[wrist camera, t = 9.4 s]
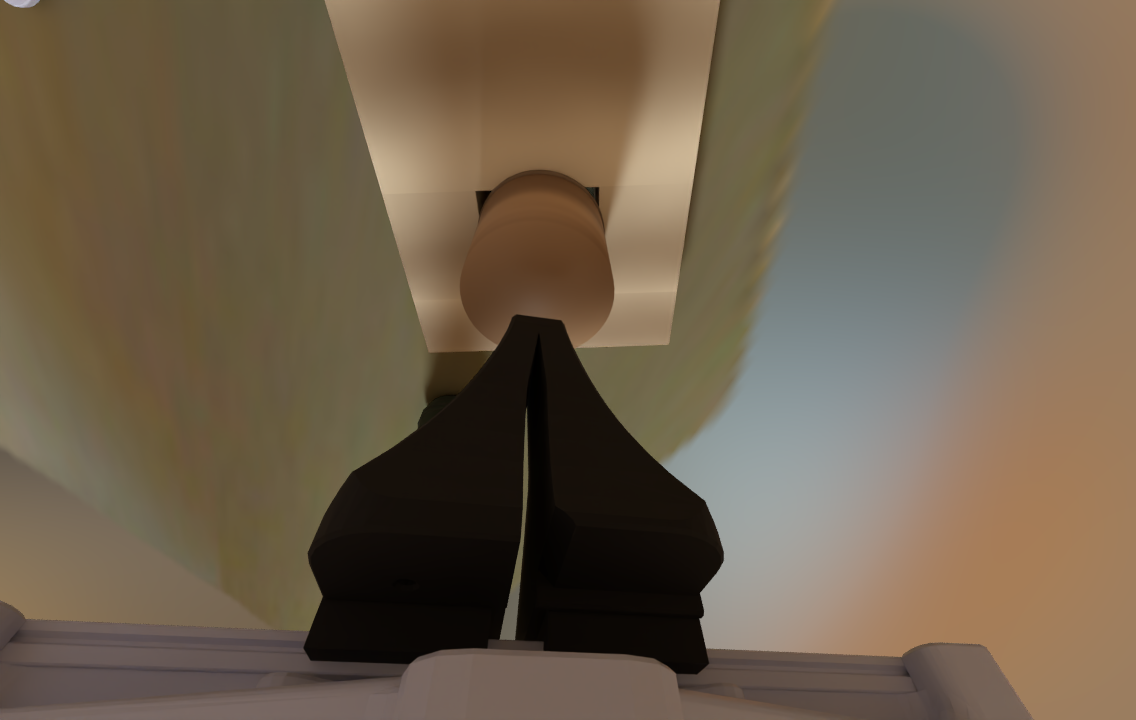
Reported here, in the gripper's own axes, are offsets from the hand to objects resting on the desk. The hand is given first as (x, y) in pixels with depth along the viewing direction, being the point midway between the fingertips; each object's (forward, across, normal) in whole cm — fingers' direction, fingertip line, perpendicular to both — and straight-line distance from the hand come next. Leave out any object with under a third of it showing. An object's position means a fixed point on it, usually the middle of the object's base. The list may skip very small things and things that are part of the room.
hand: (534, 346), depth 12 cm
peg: (+9, 0, -1) cm, 9 cm away
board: (+9, +1, -3) cm, 10 cm away
